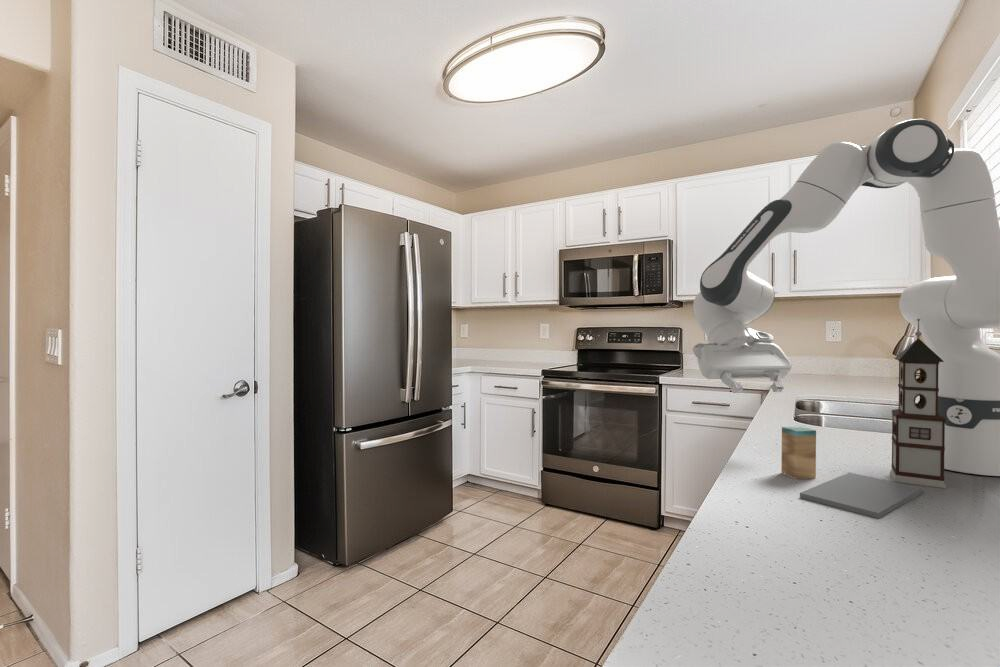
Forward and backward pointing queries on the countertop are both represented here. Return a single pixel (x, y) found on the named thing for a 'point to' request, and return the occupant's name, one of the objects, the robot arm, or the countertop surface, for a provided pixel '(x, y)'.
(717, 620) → the countertop surface
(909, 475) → the miniature building
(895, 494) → the rubber mat
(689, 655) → the countertop surface
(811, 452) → the oak block
